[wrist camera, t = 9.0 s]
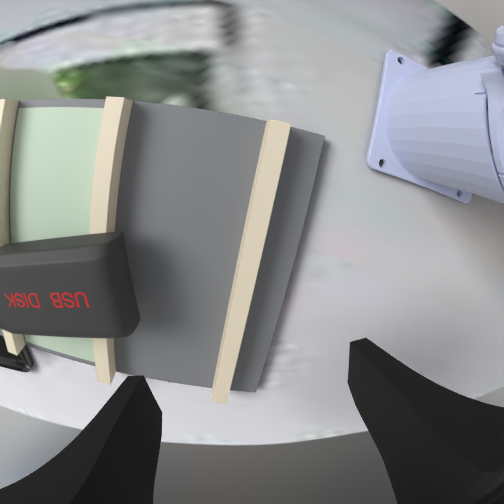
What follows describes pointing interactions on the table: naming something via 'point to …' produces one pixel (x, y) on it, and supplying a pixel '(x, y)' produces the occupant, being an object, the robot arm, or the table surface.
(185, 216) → the gray striped board
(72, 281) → the usb drive
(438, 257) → the table surface
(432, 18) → the table surface
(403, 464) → the robot arm
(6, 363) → the phone
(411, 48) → the table surface
